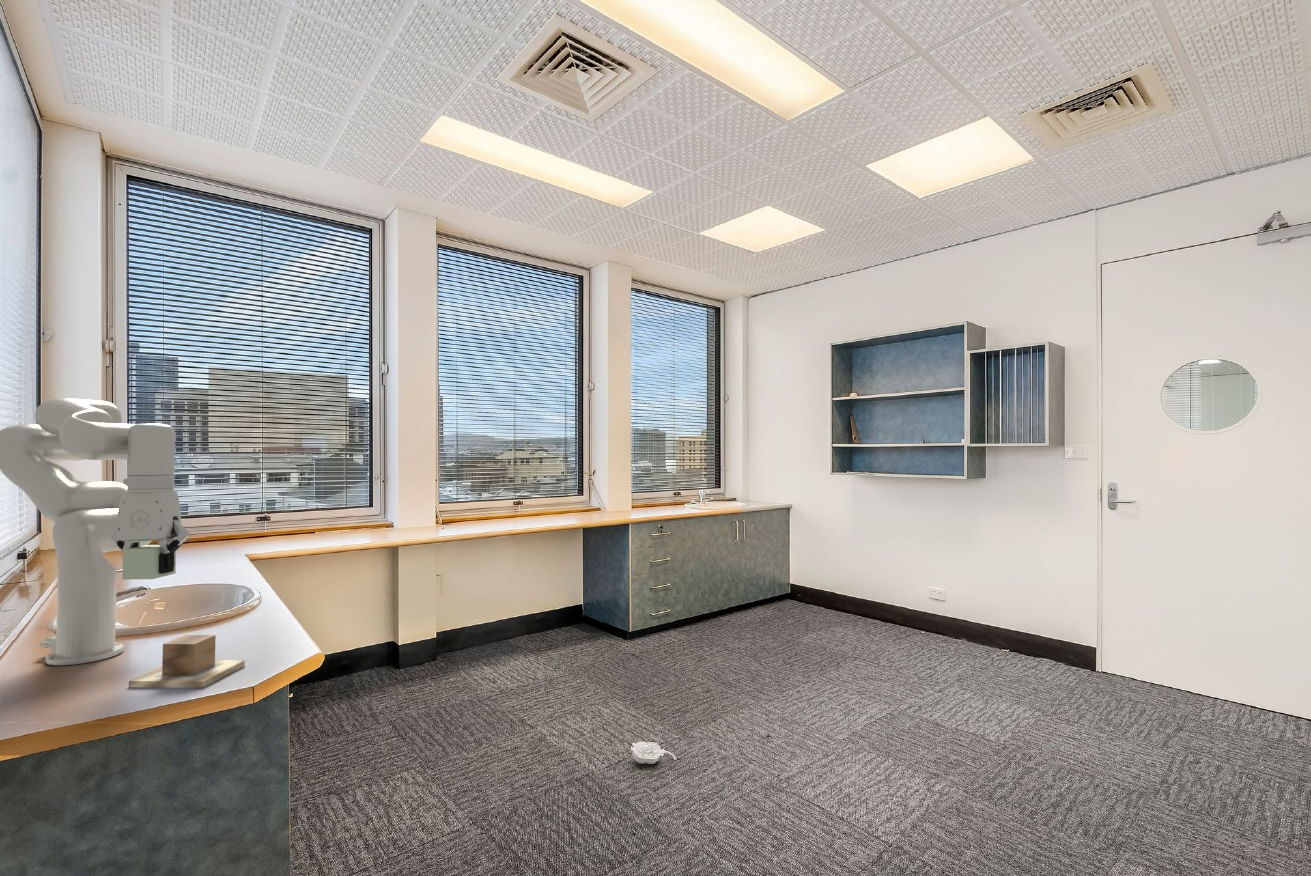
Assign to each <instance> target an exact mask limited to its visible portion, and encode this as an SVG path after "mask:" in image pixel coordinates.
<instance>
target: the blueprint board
mask: <svg viewBox="0 0 1311 876" xmlns="http://www.w3.org/2000/svg"><path fill="white" fill-rule="evenodd" d="M245 663H246V661H245V660H244V659H215V665H214V666H212V667H210V668H208V669H206V670H204V671H202V672H200V673H198V674H196V675H162V666H160V667H158V668H157V667H156V668H155V669H153V670H150V671H148V672H147V673H143V674H142V675H139V676H137V677H135V678H131V679H130V680H128V686H127V687H128V688H145V689H146V688H147V689H148V688H151V689H152V688H153V689H154V688H157V689H161V688H163V689H164V688H167V689H168V688H171V689H172V688H174V689H177V688H179V689H182V688H183V689H185V688H186V689H201V688H203V689H204V688H205V687H207V686H209V685H211V684H213V683H215V682H217V681H219V680H220V679H221V680H222V678H224V677H227V676H228V675H229V676H230V675H231V674H232V673H234V672H236V671H238V670H240V669H241V668H243V667H245V665H246V664H245Z"/></svg>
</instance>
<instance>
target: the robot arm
mask: <svg viewBox="0 0 1311 876" xmlns="http://www.w3.org/2000/svg"><path fill="white" fill-rule="evenodd" d="M34 420H35V422H36V423H28V424H27V423H25V424H15V425H14V424H13V425H10V426H7V427H3V428H1V429H0V472H1V473H2V475H3V476H4V477H6V479H8V480H9V481H11V483H13V484H14V485H15V486H17V487H18V488H19V489H20V490H21V491H23V492H24V493H25V494H26V495H27V497H28V498H29V500H30V501H31V502H32V503H33V505H34V506H35V507H36V509H38V510H39V512H40V513H41V514H42V515H43V517H45V518H46V519H47V521H49V522H51V523H52V524H54V525H53V527H52V540H53V545H54V549H55V555H56V564H57V601H56V631H55V634H56V635H54V636H50V635H49V636H47V637H46V638H45V639H44V640H43V641H41V642H40V644H39V646H40V648H41V649H50V653H49V654H47V655H46V656H45V657H44V658H45V659H44V660H45V661H44V662H45V663H46V664H47V665H49V666H50V665H51V666H72V665H81V664H88V663H93V662H98V661H102V660H105V659H110V658H112V657H115V656H117V655H120V654H121V653H122V652H124V650H125V644H123V643H121V642H116V619H117V618H116V617H117V615H116V614H117V582H118V581H117V580H118V579H117V578H118V577H117V576H118V575H117V570H116V568H115V565H114V564H112V562H111V561H110V560H109V559H108V558H107V557H106V556H105V554H106V553H109V552H117V551H121V554H123V549H127V548H133V547H138V546H144V545H150V544H151V543H152V542H155V541H156V542H158V545H160V548H161V550H162V553H163V554H159V573H160V574H164V573H168V572H172V571H174V552H176V553H177V552H178V550H179V548H180V547H181V546H182V545H183V544H184V543H185V542H186V541H187V540H188V539H189V538H190V536H191V532H189V531H188V530H187V529H186V528H185V527H184V525H182V515H181V506H180V505H181V504H180V498H179V495H178V494H179V493H178V491H177V490H175V454H176V452H175V442H176V441H175V440H176V439H175V438H176V437H175V435H176V433H175V432H176V431H175V429H174V427H173V426H171V425H169V424H165V423H164V424H163V423H136V424H135V423H122V413H121V411H120V409H119V408H118V407H117V406H116V405H115V404H114V403H112V402H109V401H107V400H106V401H105V400H97V399H96V400H94V399H80V398H69V397H67V398H66V397H65V398H64V397H63V398H62V397H61V398H53V399H52V398H51V399H48V400H47V401H44V402H42V403H41V404H40V405H38V406H37V408H36V409H35V412H34ZM83 460H89V461H90V460H91V461H106V460H107V461H118V460H119V461H120V460H121V461H122V460H123V461H125V460H126V461H127V466H126V467H127V471H126V473H127V474H126V475H127V476H126V478H124V479H123V481H122V482H119V481H112V480H111V481H110V480H109V481H107V480H106V481H80V480H78V479H77V478H75V476H74V475H73V474H72V473H71V472H70V471H69V470H67V469H66V468H65V467H64V466H62V465H59V464H57V463H55V462H53V461H56V462H57V461H58V462H59V461H61V462H62V461H83ZM51 461H52V462H51ZM104 553H105V554H104Z"/></svg>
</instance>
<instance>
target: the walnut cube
mask: <svg viewBox="0 0 1311 876" xmlns="http://www.w3.org/2000/svg"><path fill="white" fill-rule="evenodd" d="M216 637H217V635H216V634H185V635H183V636H179V637H177V638H174V639H172V640H170V641H167V642H164V643H162V660H161V661H162V662H161V664H162V665H161V667H162V675H196V674H198V673H200V672H202V671H204V670H206V669H208V668H210V667H212V666H214V665H215V660H216Z"/></svg>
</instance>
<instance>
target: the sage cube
mask: <svg viewBox="0 0 1311 876" xmlns="http://www.w3.org/2000/svg"><path fill="white" fill-rule="evenodd" d="M159 554H163V553H162V550H161V548H160V545H159V544H147V545H144V546H138V547H133V548H127V549H123V553H122V575H121V576H122V580H155V579H159V578H163V577H168V576H171V575H172V576H173V575H176V573H177V571H176V570H177V569H176V568H177V566H176V565H177V564H176V563H177V562H176V561H177V551H176V552H174V571H172V572H168V573H164V574H160V573H159Z"/></svg>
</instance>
